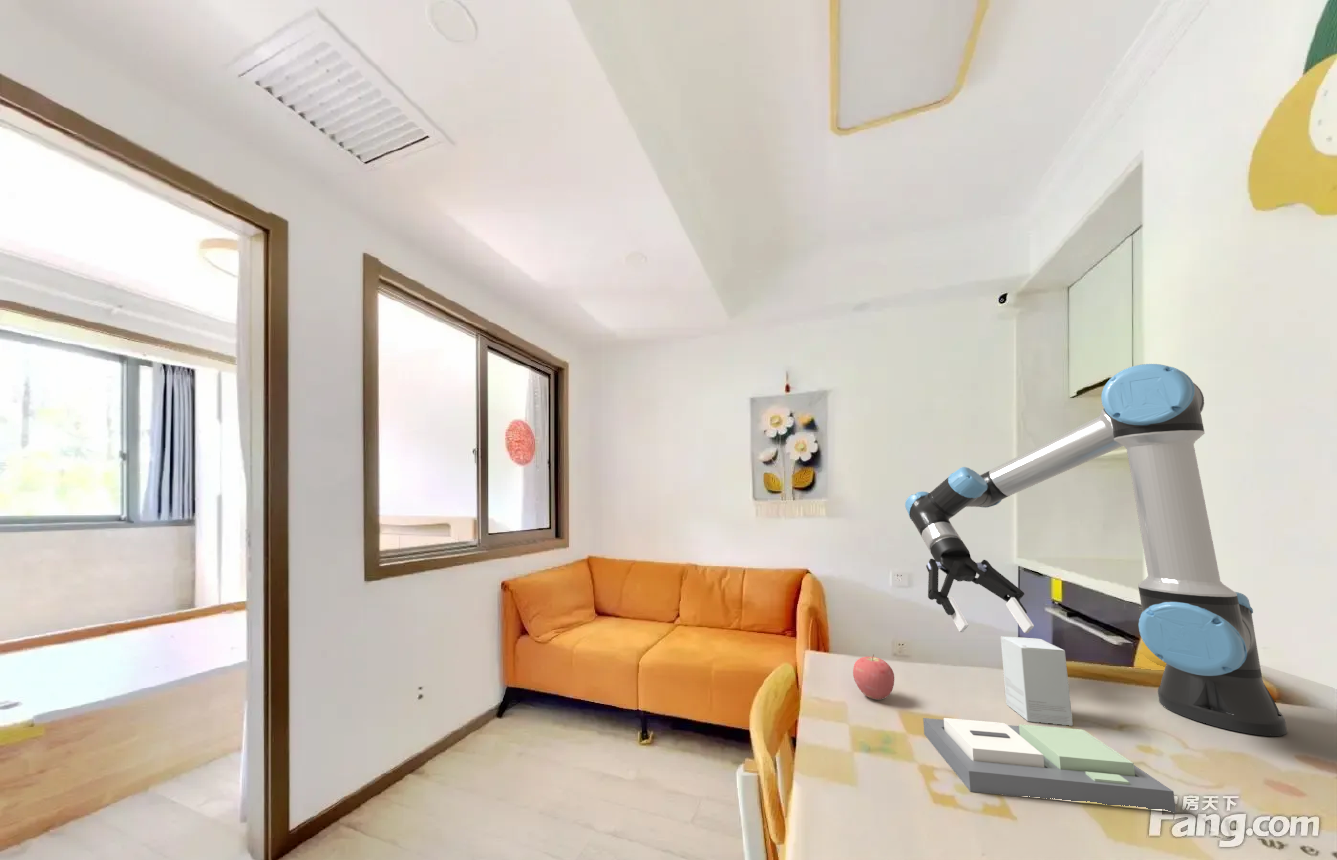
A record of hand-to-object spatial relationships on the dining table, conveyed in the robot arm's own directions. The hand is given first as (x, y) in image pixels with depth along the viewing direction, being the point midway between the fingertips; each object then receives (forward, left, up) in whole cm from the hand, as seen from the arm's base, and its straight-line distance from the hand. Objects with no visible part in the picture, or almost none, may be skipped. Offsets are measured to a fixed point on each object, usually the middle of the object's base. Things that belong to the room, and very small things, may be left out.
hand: (996, 629), depth 92 cm
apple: (+26, +6, -13) cm, 30 cm away
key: (+4, +27, -11) cm, 29 cm away
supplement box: (-2, +8, -13) cm, 15 cm away
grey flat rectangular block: (+10, +27, -13) cm, 31 cm away
